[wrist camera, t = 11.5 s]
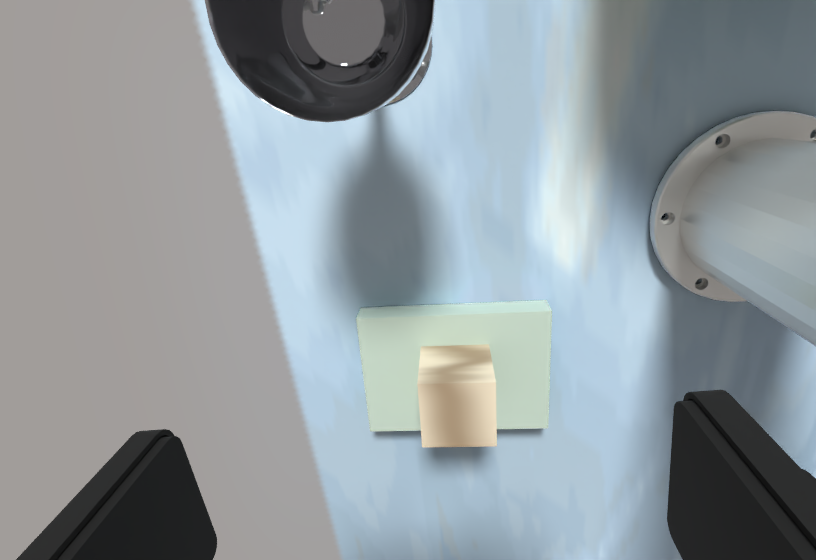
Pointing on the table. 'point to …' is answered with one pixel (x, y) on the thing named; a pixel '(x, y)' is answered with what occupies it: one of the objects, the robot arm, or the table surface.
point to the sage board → (456, 325)
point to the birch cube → (457, 396)
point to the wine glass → (325, 52)
